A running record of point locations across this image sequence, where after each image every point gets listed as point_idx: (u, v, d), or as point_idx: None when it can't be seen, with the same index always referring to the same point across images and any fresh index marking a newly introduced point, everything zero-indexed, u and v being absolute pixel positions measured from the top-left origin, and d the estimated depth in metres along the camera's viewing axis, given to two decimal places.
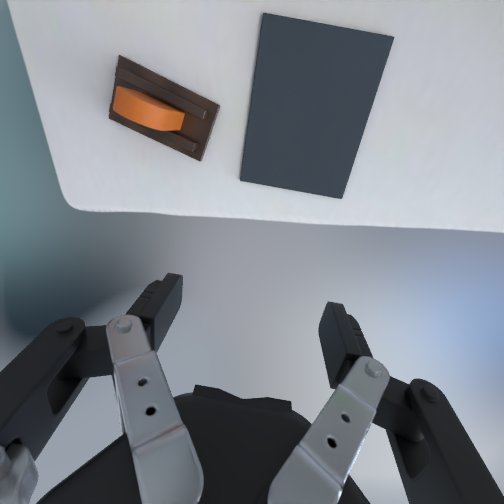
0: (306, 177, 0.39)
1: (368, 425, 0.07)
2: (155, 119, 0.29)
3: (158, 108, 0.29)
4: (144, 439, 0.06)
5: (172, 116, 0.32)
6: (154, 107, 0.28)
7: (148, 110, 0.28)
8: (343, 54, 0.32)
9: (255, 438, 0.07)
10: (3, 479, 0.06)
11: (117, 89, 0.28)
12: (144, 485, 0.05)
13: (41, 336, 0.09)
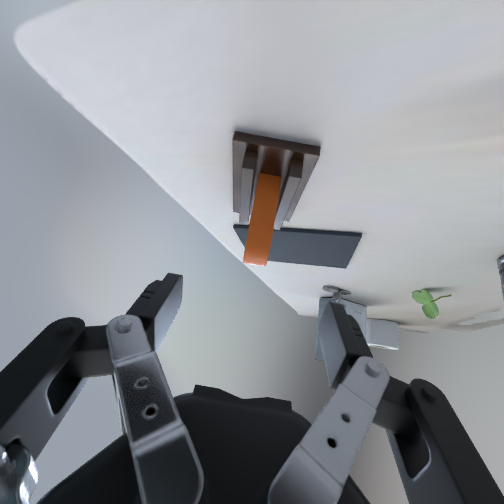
0: None
1: (368, 425, 0.07)
2: None
3: None
4: (144, 439, 0.06)
5: None
6: None
7: None
8: (335, 258, 0.48)
9: (255, 438, 0.07)
10: (3, 479, 0.06)
11: (267, 250, 0.25)
12: (144, 485, 0.05)
13: (41, 336, 0.09)
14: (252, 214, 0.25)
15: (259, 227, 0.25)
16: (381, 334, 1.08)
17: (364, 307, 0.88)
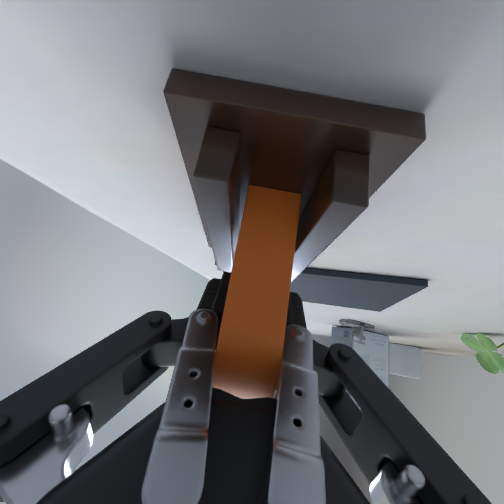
0: None
1: (316, 389, 0.08)
2: None
3: None
4: (171, 426, 0.06)
5: None
6: None
7: None
8: (369, 302, 0.33)
9: (255, 438, 0.07)
10: (64, 437, 0.07)
11: (268, 389, 0.10)
12: (144, 485, 0.05)
13: (137, 321, 0.10)
14: (230, 294, 0.10)
15: (247, 331, 0.09)
16: (401, 362, 0.92)
17: (386, 337, 0.72)
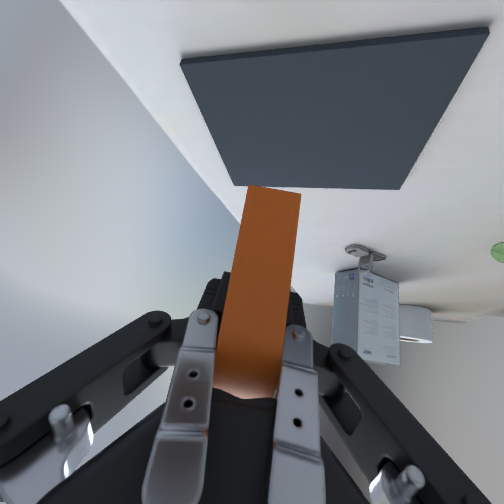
0: (238, 153, 0.28)
1: (316, 389, 0.08)
2: None
3: None
4: (171, 426, 0.06)
5: None
6: None
7: None
8: (388, 158, 0.25)
9: (255, 438, 0.07)
10: (64, 437, 0.07)
11: (268, 389, 0.10)
12: (144, 485, 0.05)
13: (137, 321, 0.10)
14: (229, 294, 0.10)
15: (247, 331, 0.09)
16: (410, 323, 0.85)
17: (396, 284, 0.65)
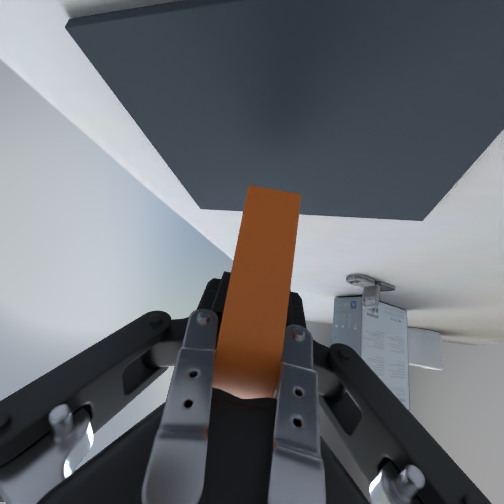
0: (196, 170, 0.20)
1: (317, 389, 0.08)
2: None
3: None
4: (171, 426, 0.06)
5: None
6: None
7: None
8: (412, 180, 0.17)
9: (255, 438, 0.07)
10: (63, 437, 0.07)
11: (268, 389, 0.10)
12: (144, 485, 0.05)
13: (137, 321, 0.10)
14: (229, 294, 0.10)
15: (247, 332, 0.09)
16: (418, 349, 0.76)
17: (404, 312, 0.56)
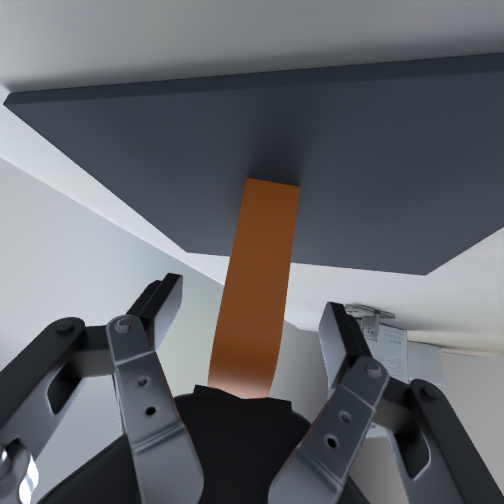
0: (177, 225, 0.18)
1: (368, 425, 0.07)
2: None
3: None
4: (144, 439, 0.06)
5: None
6: None
7: None
8: (415, 246, 0.15)
9: (255, 438, 0.07)
10: (3, 480, 0.06)
11: (266, 383, 0.10)
12: (144, 485, 0.05)
13: (41, 336, 0.09)
14: (227, 287, 0.10)
15: (245, 324, 0.09)
16: (418, 364, 0.75)
17: (404, 332, 0.55)
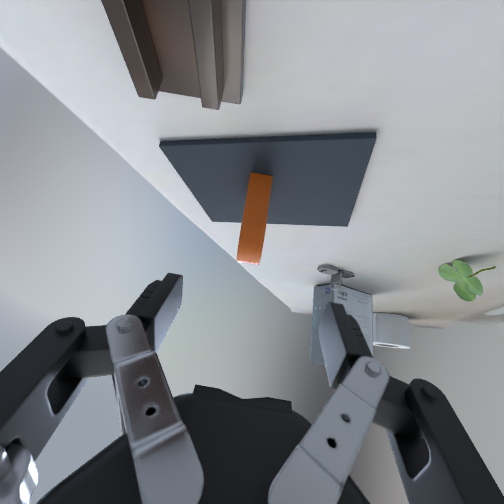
0: (212, 200, 0.34)
1: (368, 425, 0.07)
2: None
3: None
4: (144, 439, 0.06)
5: None
6: None
7: None
8: (332, 205, 0.31)
9: (255, 438, 0.07)
10: (3, 480, 0.06)
11: (260, 248, 0.25)
12: (144, 485, 0.05)
13: (41, 336, 0.09)
14: (244, 213, 0.26)
15: (251, 225, 0.25)
16: (389, 330, 0.91)
17: (369, 296, 0.71)
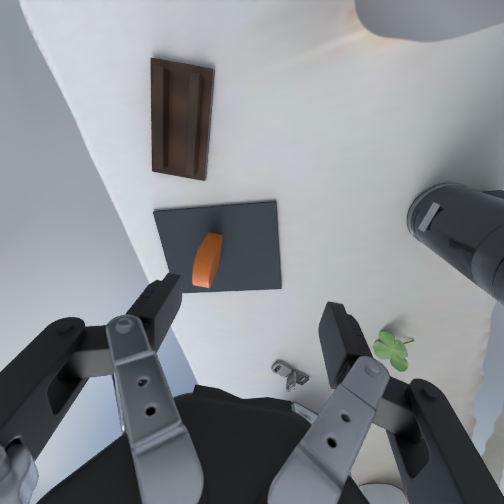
0: (179, 264, 0.46)
1: (368, 425, 0.07)
2: None
3: (208, 287, 0.38)
4: (144, 439, 0.06)
5: None
6: (207, 287, 0.37)
7: (204, 285, 0.37)
8: (265, 263, 0.44)
9: (255, 438, 0.07)
10: (3, 479, 0.06)
11: (210, 262, 0.36)
12: (144, 485, 0.05)
13: (41, 336, 0.09)
14: (201, 244, 0.38)
15: (205, 249, 0.37)
16: None
17: None
